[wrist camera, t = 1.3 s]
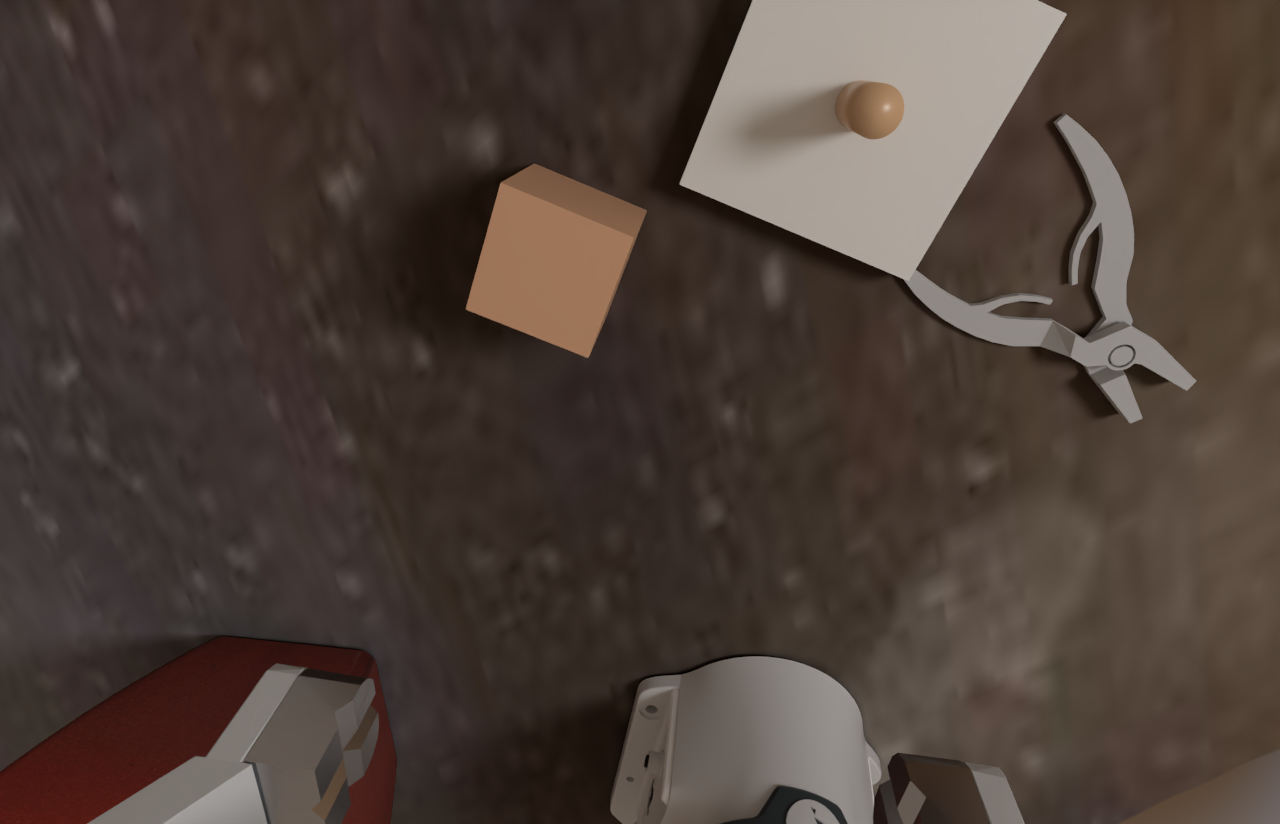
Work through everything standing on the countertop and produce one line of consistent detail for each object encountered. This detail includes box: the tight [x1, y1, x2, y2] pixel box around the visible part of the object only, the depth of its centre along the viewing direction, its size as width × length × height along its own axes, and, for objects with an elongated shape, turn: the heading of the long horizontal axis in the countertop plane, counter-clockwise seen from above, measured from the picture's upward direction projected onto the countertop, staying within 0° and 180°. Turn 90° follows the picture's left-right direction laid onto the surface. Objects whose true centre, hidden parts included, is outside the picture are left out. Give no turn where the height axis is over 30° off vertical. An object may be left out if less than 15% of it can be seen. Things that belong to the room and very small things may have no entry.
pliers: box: [903, 114, 1196, 423], centre depth 34 cm, size 10×2×15 cm
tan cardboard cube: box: [466, 164, 647, 358], centre depth 33 cm, size 6×6×6 cm
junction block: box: [679, 0, 1067, 281], centre depth 29 cm, size 12×12×6 cm
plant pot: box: [0, 636, 397, 824], centre depth 47 cm, size 19×19×17 cm
